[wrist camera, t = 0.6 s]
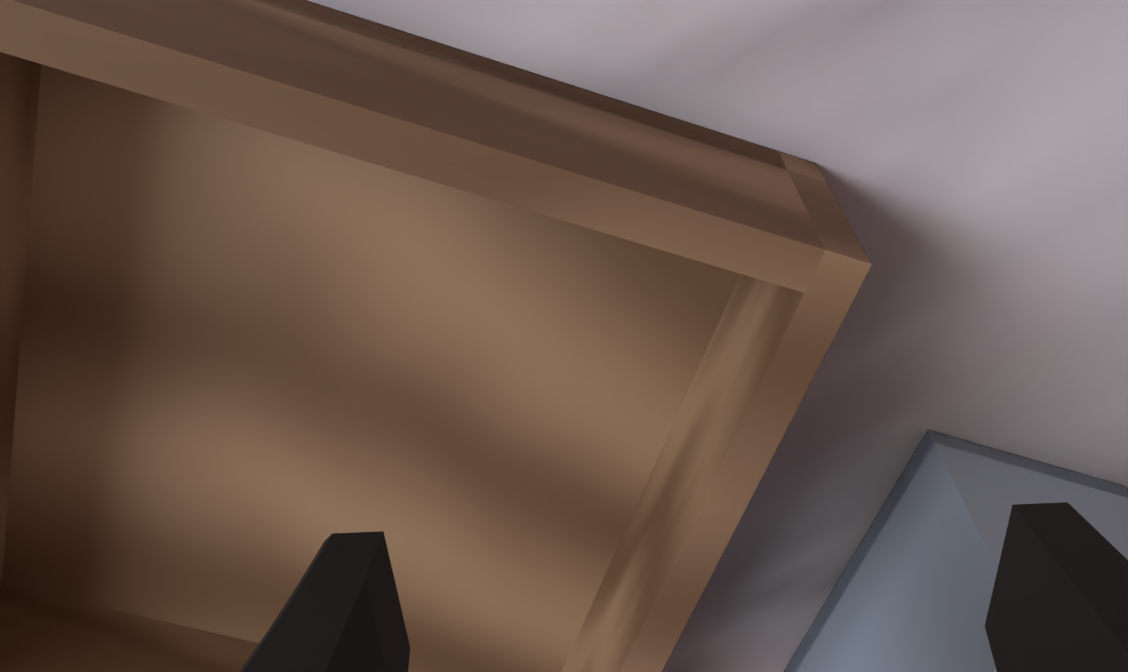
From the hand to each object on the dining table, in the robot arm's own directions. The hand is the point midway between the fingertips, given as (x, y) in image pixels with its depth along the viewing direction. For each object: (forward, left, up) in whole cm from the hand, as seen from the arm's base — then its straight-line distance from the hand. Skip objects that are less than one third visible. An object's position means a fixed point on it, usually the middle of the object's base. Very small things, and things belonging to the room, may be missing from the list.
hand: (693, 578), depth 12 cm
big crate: (-6, +5, -10) cm, 13 cm away
